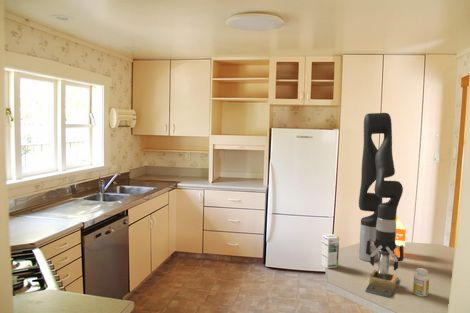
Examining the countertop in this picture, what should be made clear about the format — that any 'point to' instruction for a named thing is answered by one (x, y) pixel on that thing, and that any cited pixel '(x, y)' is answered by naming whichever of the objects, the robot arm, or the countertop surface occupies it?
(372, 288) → the bolted socket base
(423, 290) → the supplement bottle
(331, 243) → the syrup box
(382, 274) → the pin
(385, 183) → the robot arm
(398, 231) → the orange juice
